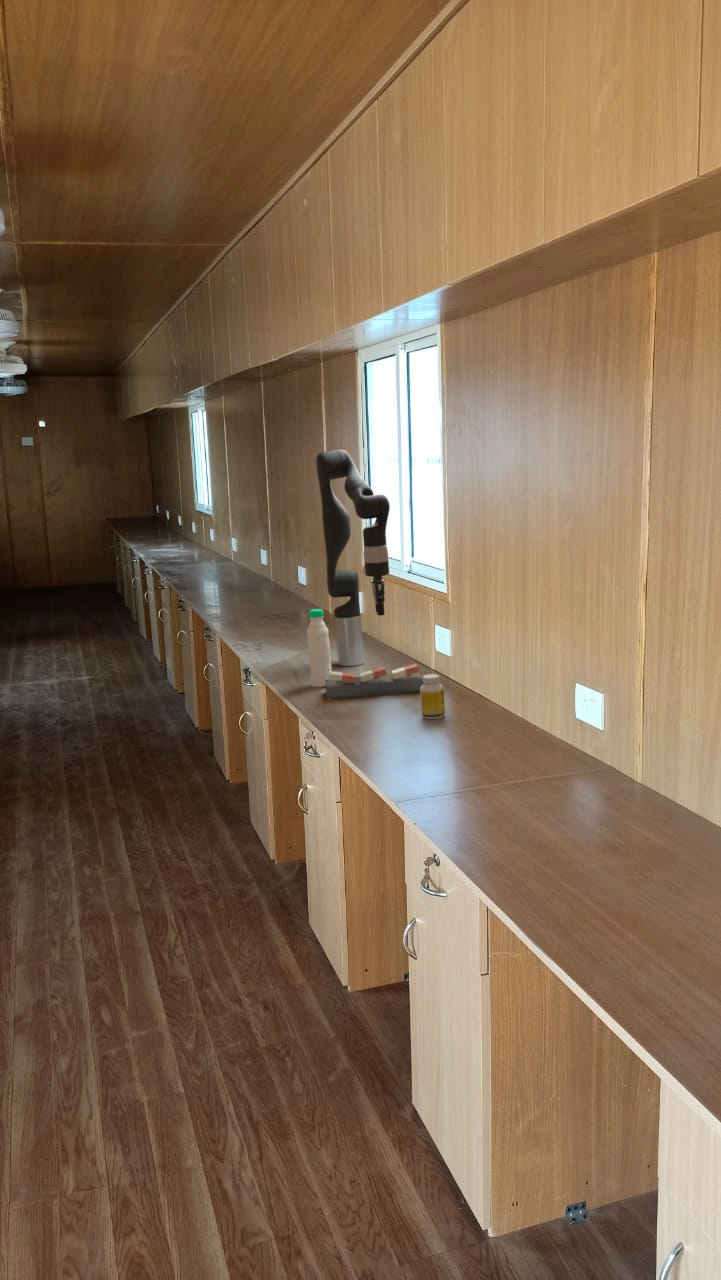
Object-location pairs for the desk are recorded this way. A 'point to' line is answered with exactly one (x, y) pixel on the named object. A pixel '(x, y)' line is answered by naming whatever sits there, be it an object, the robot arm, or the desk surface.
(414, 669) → the rocker
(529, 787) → the desk surface
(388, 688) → the power strip
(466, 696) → the desk surface
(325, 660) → the water bottle
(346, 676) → the rocker
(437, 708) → the pill bottle
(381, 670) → the block
